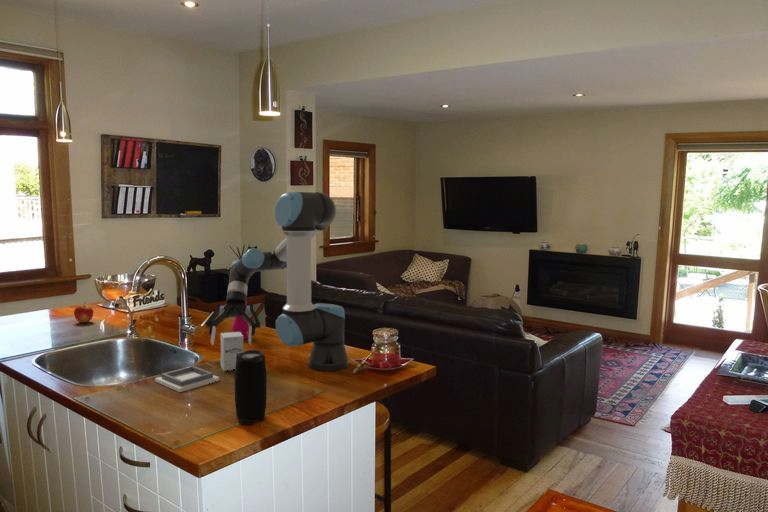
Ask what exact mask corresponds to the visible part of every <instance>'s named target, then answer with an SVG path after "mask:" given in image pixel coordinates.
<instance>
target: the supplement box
mask: <svg viewBox="0 0 768 512" xmlns="http://www.w3.org/2000/svg"><path fill="white" fill-rule="evenodd" d="M219 335H220V337H219V338H220V366H221V369H222V370H223V372H226V371H227V370H228V371H234V370H233V369H235V367H236V357H237V353H242V352H244V340H243V339H244V338H243V335H242V333H241V332H233V331H230V332H221V333H220V334H219Z"/></svg>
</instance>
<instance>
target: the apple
mask: <svg viewBox="0 0 768 512" xmlns="http://www.w3.org/2000/svg"><path fill="white" fill-rule="evenodd" d="M73 313H74V314H73V315H74V318H75V319H76V321H77V322H79V323H80V324H82V323H88V322H90V321H91V320H92V319H93V316H94V310H93V308H92V307H91V306H90V305H86V302H84V304H81V305H78V306H76V307H75V308H74V310H73Z"/></svg>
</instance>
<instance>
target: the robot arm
mask: <svg viewBox="0 0 768 512" xmlns="http://www.w3.org/2000/svg"><path fill="white" fill-rule="evenodd" d="M336 212H337V208H336V204H335V202H334V200H333V198H331V197H330V196H329V195H328V194H326V193H323V192H317V191H315V192H313V191H312V192H309V191H303V192H302V191H294V192H293V191H292V192H285V193H283V194H281V196H279V198H278V200H277V201H276V203H275V207H274V218H275V220H276V223H277V224H278V225H279V226H280V227H281V231H282V233H284V235H285V238H284V239H283V240H282V241H281V242H280V243H279V244H278V245H277V246H276V247H275V248H274V249H273V250H270V251H261V250H260V249H257V248H255V247H252V248H249V249H248V250H247V251H246V252H245V253H243V254H242V256H241V258H240V259H236V260H233V262H232V263H231V265H230V268H229V277H228V279H229V280H228V285H227V293H226V300H225V304H224V305H221V304H220V303H217V305H216V308H215V310H213V312H212V314H210V316H209V317H208V319H207V320H206V322H205V323H204V324H205V327H206V328H207V329H208V334H209V336H210V344H211V346H214V345H215V340H216V339H215V338H216V334H217V333H216V332H217V329H216V328H217V326H219V325H220V324H221V323H222V322H223V321H224V320H225V319H228V318H229V317H230V318H234V317H239V316H241V317H242V318H244V319H245V321H246V322H247V323H248V326H249V330H248V338H247V339H248V345H249V346H250V345H252V337H255V335H256V329H257V328H259V329H260V328H261V326H262V325H261V322H260V320H259V317H258V315H257V313H256V312H255V309H254V304H253V303H251V304H249V305H246V300H247V296H248V288H249V287H248V285H249V281H250V280H249V279H250V278H251V277H252V276H253V275H254V273H256V272H265V271H273V270H276V271H277V270H285V269H286V303H285V304H284V305H283V306H282V313H281V314H280V315H278V316H277V319H276V320H275V330H276V334H277V336H278V338H279V339H280V341H281V342H282V344H284V345H285V346H287V347H299V346H300V347H301V346H302V345H307V344H310V343H312V346H311V347H312V348H311V351H310V356H309V357H308V362H307V363H308V367H310V368H311V369H312V370H316V371H322V372H330V371H331V372H332V371H334V372H335V371H340V370H343V369H346V368H348V367H349V362H350V361H349V359H350V358H349V356H348V354H347V350H346V346H345V325H346V324H345V323H346V322H345V319H346V317H345V309H344V307H343V306H341V305H338V304H332V303H321V302H320V303H315V304H313V303H312V239H314V237H315V236H317V234H319V232H322V231H325V230H326V229H328V228H329V227H330V225H331V224H332V223H333V222H334V219H335V217H336ZM223 310H224V311H223ZM247 310H248V312H250V315H251V317H252V318H251V317H249V315H248V314H247V313H246V311H247ZM222 311H223V312H222ZM221 312H222V313H221ZM220 313H221V314H220ZM219 314H220V315H219ZM253 320H254V321H253Z"/></svg>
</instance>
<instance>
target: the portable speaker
mask: <svg viewBox="0 0 768 512" xmlns="http://www.w3.org/2000/svg"><path fill="white" fill-rule="evenodd" d="M233 379H234V403H235V404H234V407H235V414H236V419H237V420H238V423H239V424H241V425H243V426H252V425H253V423H255V422H258V421H261V422H264V421H265V419H266V417H265V416H266V409H267V398H268V397H267V365H266V357H265V354H264V353H263V352H262V351H261V350H258V349H247V350H245V351H243V352H242V353H237V357H236V367H235V370H234V378H233Z"/></svg>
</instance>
